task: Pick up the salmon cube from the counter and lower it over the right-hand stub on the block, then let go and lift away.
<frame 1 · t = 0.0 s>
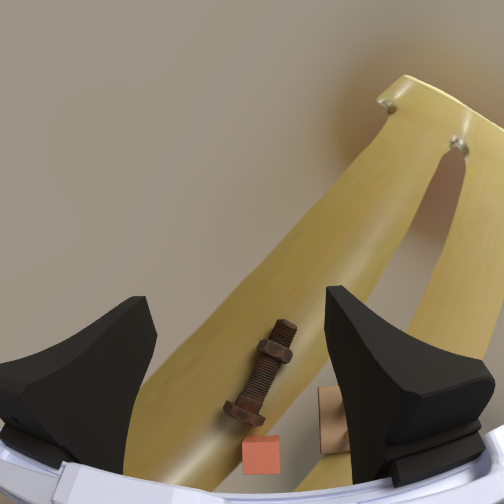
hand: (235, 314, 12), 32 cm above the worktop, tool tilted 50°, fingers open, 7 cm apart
stub block: (347, 417, 36), on the worktop
bolt: (266, 372, 41), on the worktop
salmon cube: (263, 450, 35), on the worktop
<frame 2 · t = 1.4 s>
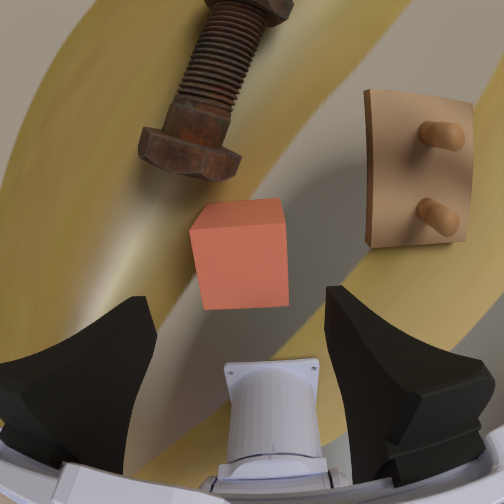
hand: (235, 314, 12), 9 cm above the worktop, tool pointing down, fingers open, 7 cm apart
stub block: (420, 168, 17), on the worktop
bolt: (234, 52, 15), on the worktop
salmon cube: (246, 234, 20), on the worktop
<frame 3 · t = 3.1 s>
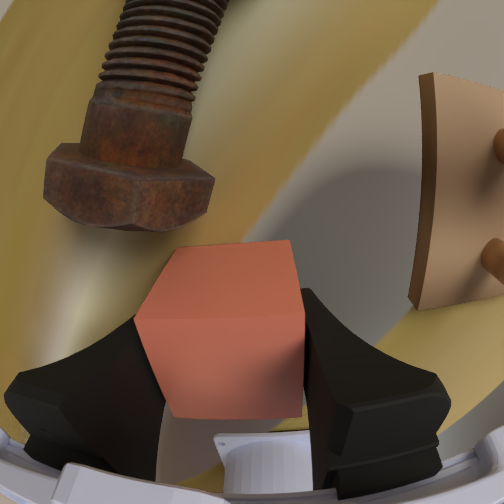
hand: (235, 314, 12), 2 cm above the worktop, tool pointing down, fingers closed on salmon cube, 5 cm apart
stub block: (486, 195, 11), on the worktop
bolt: (200, 13, 9), on the worktop
salmon cube: (237, 292, 13), on the worktop, touching gripper
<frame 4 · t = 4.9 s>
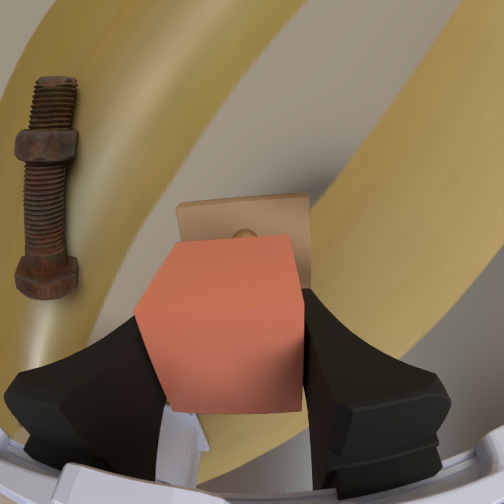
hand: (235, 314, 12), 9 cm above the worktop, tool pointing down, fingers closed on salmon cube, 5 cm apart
stub block: (249, 268, 21), on the worktop
bolt: (65, 179, 19), on the worktop
salmon cube: (237, 287, 13), point 7 cm above the worktop, touching gripper
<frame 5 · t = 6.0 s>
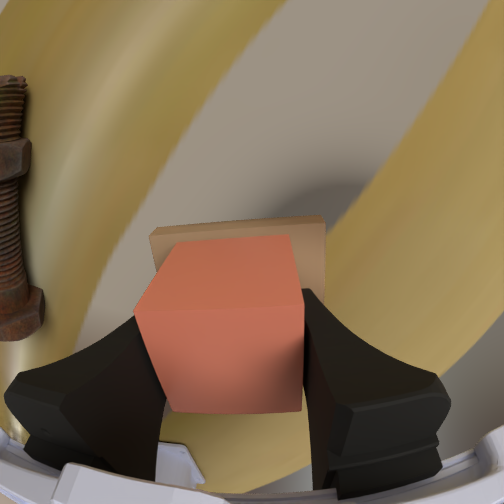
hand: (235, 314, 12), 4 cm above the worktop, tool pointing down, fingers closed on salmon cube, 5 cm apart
stub block: (246, 308, 16), on the worktop
bolt: (22, 198, 14), on the worktop
salmon cube: (237, 287, 13), point 2 cm above the worktop, touching gripper
when the fingers open (4 cm above the worktop, at t = 6.8 s): salmon cube drops 1 cm, resting on stub block.
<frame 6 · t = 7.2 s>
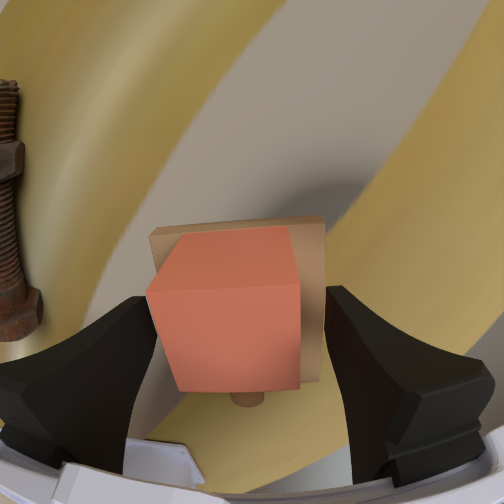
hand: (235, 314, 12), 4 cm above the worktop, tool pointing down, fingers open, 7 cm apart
stub block: (246, 308, 16), on the worktop
bolt: (17, 200, 14), on the worktop
salmon cube: (239, 276, 14), point 1 cm above the worktop, touching stub block
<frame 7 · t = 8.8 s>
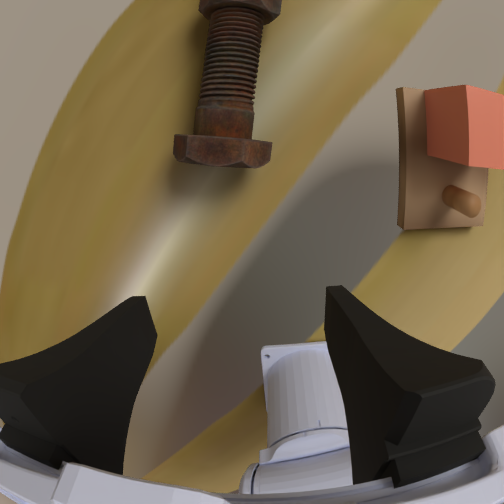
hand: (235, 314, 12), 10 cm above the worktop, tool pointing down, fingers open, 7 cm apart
stub block: (443, 159, 18), on the worktop
bolt: (239, 53, 17), on the worktop
salmon cube: (451, 125, 16), point 1 cm above the worktop, touching stub block
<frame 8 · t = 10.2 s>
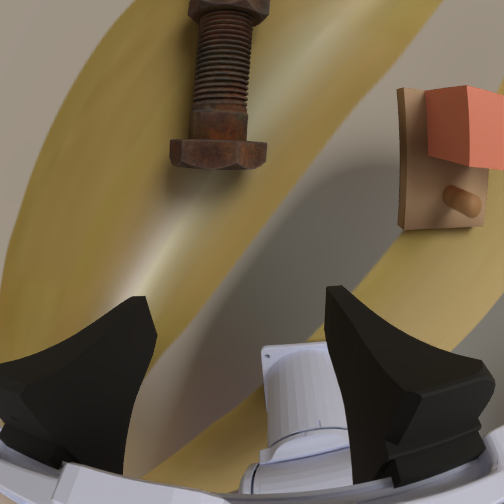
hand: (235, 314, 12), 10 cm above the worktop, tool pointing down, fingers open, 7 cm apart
stub block: (444, 160, 18), on the worktop
bolt: (230, 56, 17), on the worktop
salmon cube: (452, 126, 16), point 1 cm above the worktop, touching stub block
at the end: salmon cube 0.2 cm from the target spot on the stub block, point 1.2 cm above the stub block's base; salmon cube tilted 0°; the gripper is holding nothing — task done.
